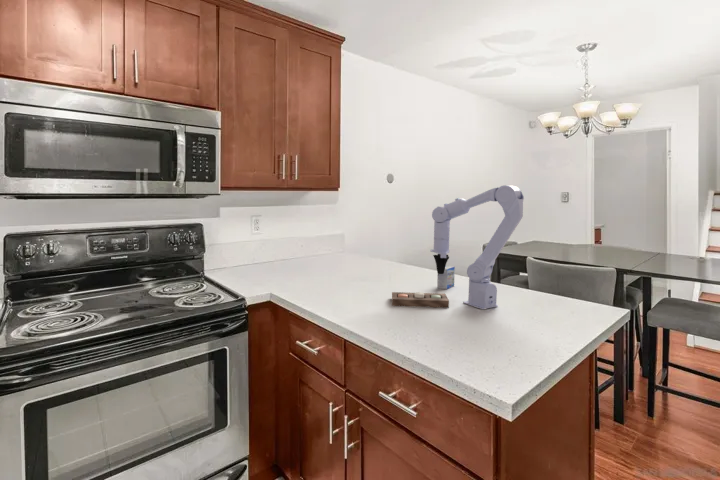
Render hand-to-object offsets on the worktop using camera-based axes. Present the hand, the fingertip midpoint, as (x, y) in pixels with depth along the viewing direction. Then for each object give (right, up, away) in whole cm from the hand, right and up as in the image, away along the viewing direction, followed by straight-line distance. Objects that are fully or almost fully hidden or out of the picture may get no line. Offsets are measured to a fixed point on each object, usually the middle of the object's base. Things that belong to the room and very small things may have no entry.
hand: (440, 273), depth 151 cm
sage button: (-3, -11, -7) cm, 13 cm away
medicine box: (+6, -8, +18) cm, 21 cm away
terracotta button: (-15, -11, -6) cm, 19 cm away
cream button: (-9, -10, -6) cm, 15 cm away
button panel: (-9, -10, -6) cm, 15 cm away
